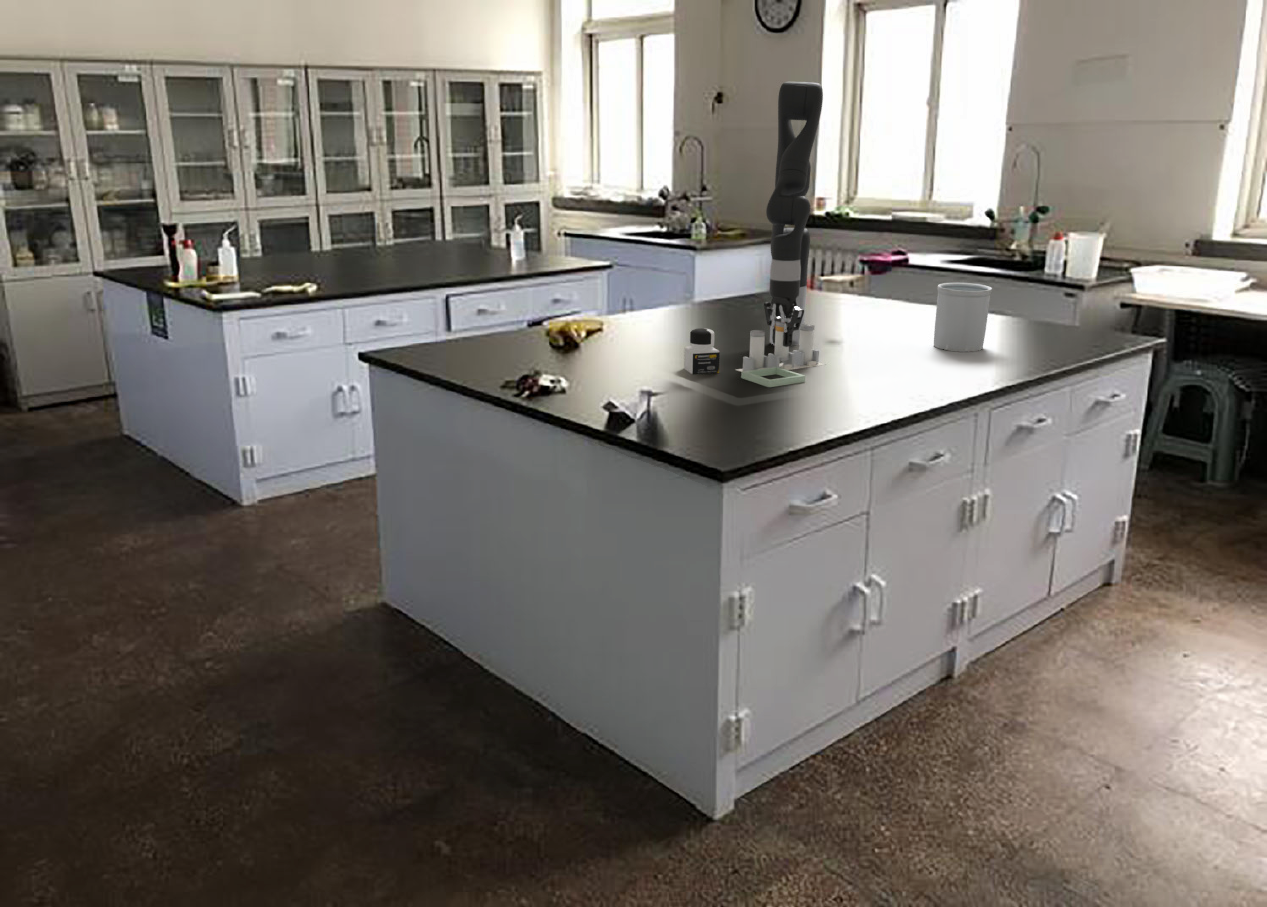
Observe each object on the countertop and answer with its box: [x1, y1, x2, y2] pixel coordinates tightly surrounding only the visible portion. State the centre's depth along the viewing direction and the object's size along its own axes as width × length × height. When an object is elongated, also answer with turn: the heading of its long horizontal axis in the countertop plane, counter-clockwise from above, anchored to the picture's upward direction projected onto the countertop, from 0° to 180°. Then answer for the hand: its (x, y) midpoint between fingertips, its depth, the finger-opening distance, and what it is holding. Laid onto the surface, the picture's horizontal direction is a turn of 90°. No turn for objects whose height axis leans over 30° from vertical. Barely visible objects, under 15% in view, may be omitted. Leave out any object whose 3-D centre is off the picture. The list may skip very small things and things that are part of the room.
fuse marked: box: [773, 320, 790, 363], centre depth 266 cm, size 4×4×10 cm
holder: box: [735, 348, 827, 372], centre depth 267 cm, size 7×24×5 cm, turn 121°
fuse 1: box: [749, 329, 766, 370], centre depth 262 cm, size 4×4×10 cm
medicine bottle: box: [683, 327, 721, 375], centre depth 262 cm, size 7×7×12 cm
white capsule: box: [798, 323, 815, 365], centre depth 270 cm, size 4×4×10 cm
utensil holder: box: [933, 282, 993, 353], centre depth 297 cm, size 15×15×18 cm
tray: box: [740, 367, 806, 388], centre depth 254 cm, size 11×11×3 cm
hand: (781, 344), depth 266 cm, fingers closed on fuse marked, 3 cm apart
